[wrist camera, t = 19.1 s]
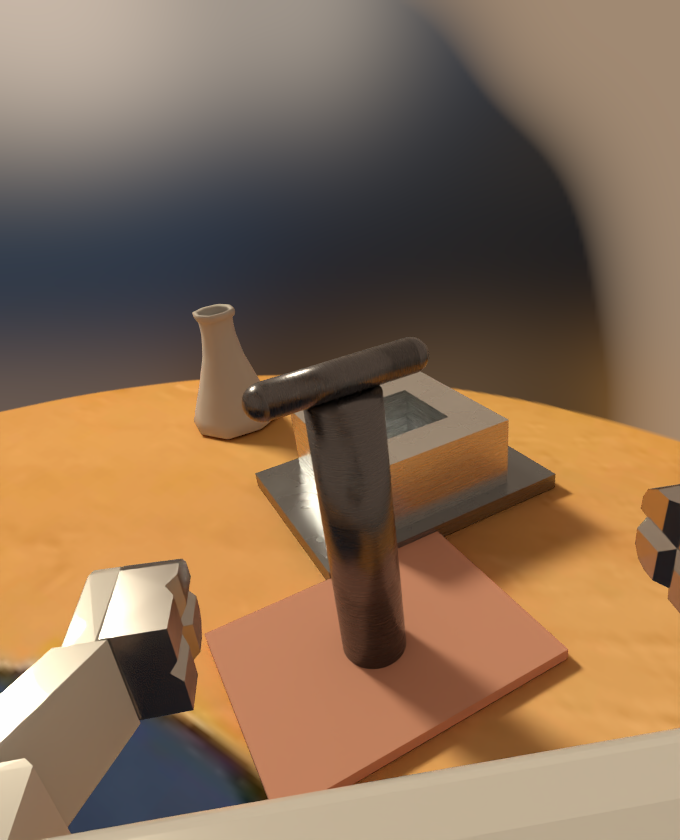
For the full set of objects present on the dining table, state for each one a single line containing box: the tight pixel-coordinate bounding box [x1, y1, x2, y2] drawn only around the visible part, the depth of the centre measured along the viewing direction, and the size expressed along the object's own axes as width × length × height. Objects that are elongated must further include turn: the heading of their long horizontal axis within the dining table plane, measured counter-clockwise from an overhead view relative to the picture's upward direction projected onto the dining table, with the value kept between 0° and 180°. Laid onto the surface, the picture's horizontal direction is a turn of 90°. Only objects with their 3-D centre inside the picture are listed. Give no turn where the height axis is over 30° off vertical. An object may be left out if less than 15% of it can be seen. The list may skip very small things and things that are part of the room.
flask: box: [193, 304, 271, 439], centre depth 49 cm, size 7×7×10 cm
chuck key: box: [242, 337, 429, 669], centre depth 24 cm, size 7×3×14 cm, turn 116°
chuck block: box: [255, 372, 555, 580], centre depth 39 cm, size 16×12×6 cm
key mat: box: [205, 531, 568, 800], centre depth 28 cm, size 14×10×1 cm
